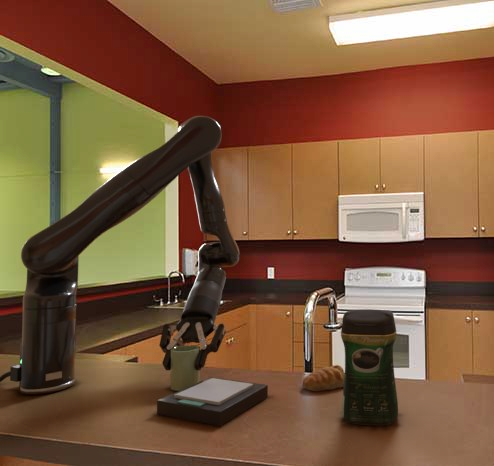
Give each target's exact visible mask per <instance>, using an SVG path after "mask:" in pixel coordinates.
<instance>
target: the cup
mask: <svg viewBox="0 0 494 466" xmlns="http://www.w3.org/2000/svg"><path fill="white" fill-rule="evenodd" d="M199 350H201V346H200V345H194V344H191V345H190V344H187V345H186V344H185V345H184V346H178V347H175V348H172V349H171V370H170V390H172V391H175V392H178V391H180V390H183V389H185V388H187V387H190V386H192V385H194V384H196V383H199V382H201V370H196V368H195V362H196V359H197V356H198V353H199Z"/></svg>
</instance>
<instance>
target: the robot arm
mask: <svg viewBox="0 0 494 466" xmlns="http://www.w3.org/2000/svg"><path fill="white" fill-rule="evenodd" d="M222 136H223V133H222V129H221V125H220V124H219V123H218V121H216V120H215V119H213V118H212V117H210V116H207V115H195V116H192V117H190V118H188V119H186V120H184V121H183V122H182V123H181V124H180V125H179V126H178V129H177V132H176V133H174V135H173V136H172V137H171V138H169V139H168V140H167V141H166V142H164V143H163V144H162V145H160V146H159V147H158V148H155V149H154V150H152V151H150V152H149V153H146V154H144V155H143V156H140V157H139V158H138V159H135V160H134V161H132V162H131V163H129V164H128V165H126V166H124V167H123V168H122V169H120V170H119V171H118V172H116V174H114V175H112V176H111V177H110V178H109V179H108V180H106V181H105V182H104V183H103V184H101V185H100V186H99V187H98V188H96V189H95V190H94V191H93V192H92V193H91V194H90V195H89V196H88V197H87V198H86V199H84V201H82V203H80V204H79V205H78V206H77V207H76V208H74V209H73V210H72V211H70V212H69V213H68V214H66V215H64V216H63V217H61V218H60V219H58V220H57V221H55V222H54V223H52V224H50V225H48V226H47V227H45V228H44V229H42V230H40V231H39V232H36V233H35V234H34V235H32V236H30V237H29V238H28V239H27V240H26V241H25V242H24V244H23V245H22V248H21V252H20V259H21V263H22V264H23V266H24V267H25V269H26V282H25V290H24V293H23V297H22V326H21V327H22V331H21V343H20V345H19V364H17V365H13V366H10V371H7V372H5V373H3V374H2V375H0V383H1V382H3V381H4V380H5V379H7V378H9V381H10V382H15V383H19V385H18V390H19V393H20V394H22V395H28V396H29V395H31V396H35V395H44V394H50V393H56V392H59V391H63V390H66V389H68V388H71V387H73V385H75V384H76V346H77V345H76V341H77V340H76V339H77V337H76V336H77V296H78V295H77V294H78V288H79V287H78V286H79V262H80V261H79V260H80V259H79V257H80V255H81V254H82V253H83V252H84V251H85V250H86V249H87V248H89V246H90V245H91V244H93V242H95V241H96V240H97V239H98V238H99V237H100V236H102V235H103V234H105V233H106V232H107V231H109V230H111V229H113V228H114V227H116V226H118V225H120V224H122V223H123V222H125V221H126V220H128V219H130V218H131V217H132V216H134V215H135V214H137V212H139V211H140V210H142V209H143V208H144V207H146V206H147V205H148V204H149V203H151V201H153V200H154V199H155V198H157V196H158V195H159V194H161V193H162V192H163V191H164V190H165V189H166V188H167V187H168V186H169V185H171V183H172V182H173V181H175V180H176V179H177V177H178V176H179V175H181V174H182V173H183V172H184V171H186V169H187V170H188V173H189V176H190V180H191V185H192V189H193V193H194V194H193V195H194V201H195V205H196V211H197V216H198V223H199V227H200V232H201V233H203V234H204V235H208V236H209V235H210V236H214V237H216V238H217V239H218V240H219V241H212V242H211V241H210V242H205V243H204V244H202V245H201V246H200V247H199V249H198V252H197V258H198V259H197V260H198V261H197V262H198V265H197V275H196V278H195V280H194V283H193V286H192V288H191V289H190V291H189V294H188V296H187V299H186V302H185V304H184V307H183V310H182V313H181V317H180V320H179V321H178V322H177V323H176V324H175V325H174V324H173V325H170V324H169V323H165V324H164V325H163V326H162V331H161V335H160V341H159V345H158V346H159V347H160V349H161V351H162V352H163V353H164V357H163V358H162V359H163V360H162V363H161V364H162V366H163V368H164V369H165V371H171V349H172V348H175V347H178V346H185V345H186V344H190V343H195V344H199V346H200V350H199V353H198V356H197V359H196V362H195V368H196V370H200V371H201V370H202V368H204V367H205V365H206V362H207V359H208V355H209V354H210V353H218V351H219V350H220V347H221V344H222V342H223V340H224V337H225V335H226V333H227V330H226V327H225V325H224V323H219V324H215V322H216V319H217V316H218V312H219V308H220V306H221V302H222V296H223V290H224V287H225V284H226V280H227V273H226V271H225V270H224V268H231V267H235V266H236V265H237V264H238V262H239V260H240V257H241V255H240V253H241V252H240V248H239V246H238V244H237V242H236V240H235V238H234V235H233V233H232V231H231V228H230V226H229V223H228V217H227V211H226V205H225V202H224V199H223V194H222V191H221V188H220V187H219V184H218V181H217V179H216V176H215V171H214V166H213V161H212V152H214V151H215V150H216V149H217V148H218V147H219V146H220V144H221V141H222ZM175 332H177V333H175ZM212 333H214V334H213V337H212V339H211V341H210V343H208V339H207V337H209V336H210V335H211V334H212ZM174 334H175V335H174Z"/></svg>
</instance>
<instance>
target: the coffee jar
mask: <svg viewBox="0 0 494 466" xmlns="http://www.w3.org/2000/svg"><path fill="white" fill-rule="evenodd" d="M341 320H342V321H341V329H340V338H341V340H342V343H343V347H344V348H343V349H344V373H345V375H344V386H343V387H342V388H343V389H342V401H341V402H342V404H341V415H342V418H343V420H344V421H346V422H347V423H348V424H352V425H362V426H389V425H391V424H393V423H395V422H396V421H397V418H398V415H399V401H398V393H397V385H396V377H395V368H394V344H395V342H396V338H397V326H396V321H395V316H394V312H393V311H392V310H389V309H388V310H386V309H372V308H371V309H369V308H366V309H365V308H364V309H361V308H360V309H349V310H346V312H345V313H344V314H343V316H342V319H341Z"/></svg>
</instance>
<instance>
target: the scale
mask: <svg viewBox="0 0 494 466" xmlns="http://www.w3.org/2000/svg"><path fill="white" fill-rule="evenodd" d="M268 388H269V386H268V384H263V383H257V382H256V383H255V382H248V381H242V380H235V379H227V378H220V377H213V376H211V377H208V378H206V379H204V380H200V382H199V383H196V384H194V385H192V386H190V387H187V388H185V389H183V390H180V391H175V392H174V393H171V394H169V395H167V396H164V397H161V398H160V399H158V400H156V414H157V415H159V416H160V415H161V416H166V417H172V418H176V419H181V420H186V421H191V422H197V423H201V424H207V425H212V426H217V427H221V426H223V425H224V424H226V423H228V422H230V421H231V420H233V419H234V418H237V417H238V416H240V415H241V414H242V413H244V412H246V411H248V410H250V408H253V407H254V406H255V405H257V404H259V403H260V402H262V401H264V400H266V399H267V398H268V395H269V393H268V390H269V389H268Z"/></svg>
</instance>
